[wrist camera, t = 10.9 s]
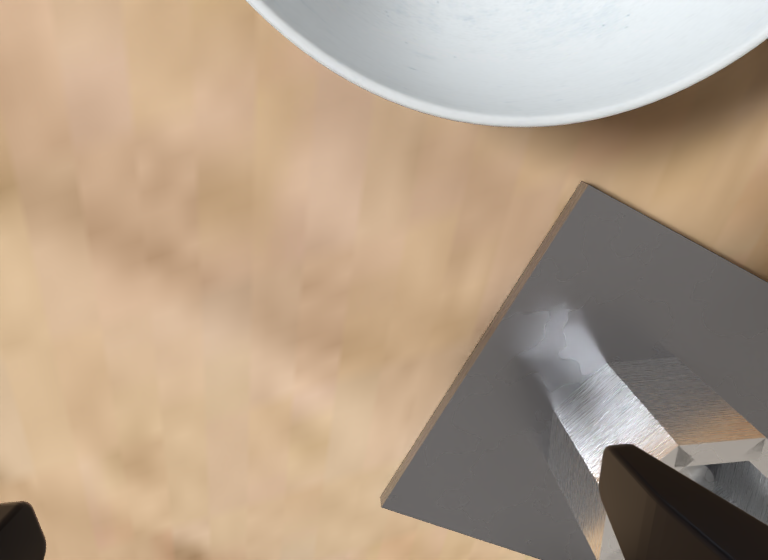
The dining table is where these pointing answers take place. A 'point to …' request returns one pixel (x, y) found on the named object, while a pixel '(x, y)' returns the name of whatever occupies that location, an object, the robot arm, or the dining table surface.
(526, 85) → the chinaware
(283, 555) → the dining table surface
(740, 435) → the collar
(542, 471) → the duct stub
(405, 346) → the dining table surface
